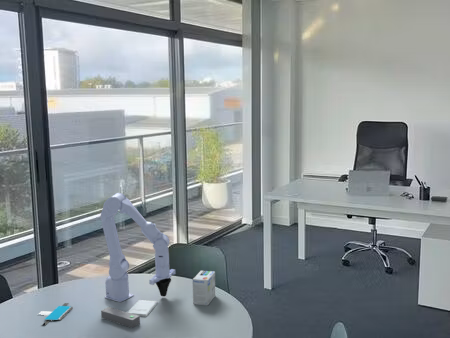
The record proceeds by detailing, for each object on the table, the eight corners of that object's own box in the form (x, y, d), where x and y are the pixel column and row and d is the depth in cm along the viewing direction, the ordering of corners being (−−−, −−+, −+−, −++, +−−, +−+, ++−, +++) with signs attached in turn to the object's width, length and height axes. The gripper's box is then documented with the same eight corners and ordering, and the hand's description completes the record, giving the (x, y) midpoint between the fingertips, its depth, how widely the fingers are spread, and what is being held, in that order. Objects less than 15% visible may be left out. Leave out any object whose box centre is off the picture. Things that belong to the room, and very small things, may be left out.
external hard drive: (157, 304, 192) (146, 318, 180) (138, 303, 194) (126, 316, 182) (157, 301, 192) (146, 314, 180) (138, 299, 194) (126, 312, 182)
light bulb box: (200, 294, 201) (200, 269, 200) (215, 295, 199) (215, 271, 198) (192, 304, 191) (191, 278, 189) (208, 305, 189) (207, 280, 188)
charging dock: (101, 318, 179) (101, 310, 179) (109, 314, 183) (109, 306, 182) (132, 328, 171) (132, 319, 170) (140, 323, 174) (139, 315, 174)
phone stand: (51, 304, 194) (51, 300, 194) (79, 305, 193) (78, 301, 193) (26, 326, 175) (25, 322, 174) (56, 327, 173) (56, 323, 173)
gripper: (158, 271, 188) (159, 303, 189) (180, 261, 200) (181, 291, 201) (144, 268, 191) (146, 300, 193) (167, 258, 203) (168, 288, 205)
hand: (163, 295), depth 198 cm, fingers closed
